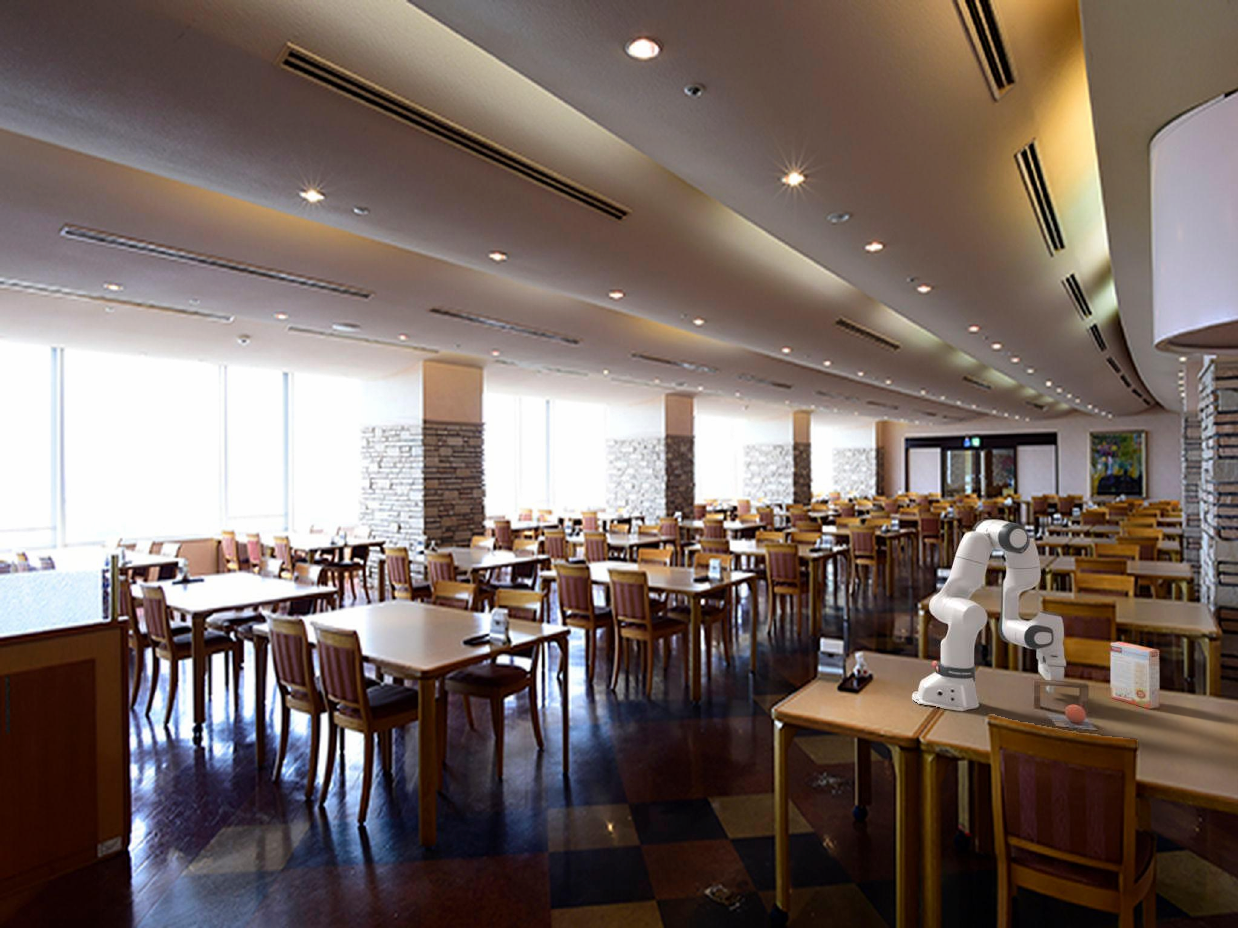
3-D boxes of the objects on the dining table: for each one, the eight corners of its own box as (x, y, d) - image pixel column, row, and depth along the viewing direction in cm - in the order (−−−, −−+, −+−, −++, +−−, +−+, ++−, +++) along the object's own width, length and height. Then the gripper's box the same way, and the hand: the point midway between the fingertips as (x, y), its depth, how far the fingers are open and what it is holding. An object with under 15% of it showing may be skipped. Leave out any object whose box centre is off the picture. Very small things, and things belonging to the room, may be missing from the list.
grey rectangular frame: (1088, 712, 252) (1088, 685, 252) (1034, 707, 257) (1033, 680, 257) (1085, 709, 255) (1085, 682, 255) (1032, 705, 260) (1031, 678, 260)
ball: (1061, 701, 246) (1061, 719, 246) (1069, 706, 240) (1069, 724, 240) (1080, 703, 245) (1081, 720, 245) (1089, 707, 239) (1089, 726, 239)
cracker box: (1160, 707, 257) (1160, 649, 257) (1149, 709, 255) (1149, 651, 255) (1120, 695, 270) (1120, 640, 270) (1109, 697, 268) (1109, 642, 268)
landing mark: (1056, 726, 239) (1056, 726, 239) (1046, 714, 250) (1046, 714, 250) (1097, 730, 235) (1097, 730, 235) (1086, 718, 246) (1086, 717, 246)
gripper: (1033, 647, 279) (1033, 683, 279) (1047, 661, 259) (1047, 699, 259) (1052, 648, 277) (1052, 684, 277) (1067, 662, 258) (1067, 701, 258)
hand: (1050, 691), depth 268 cm, fingers closed
